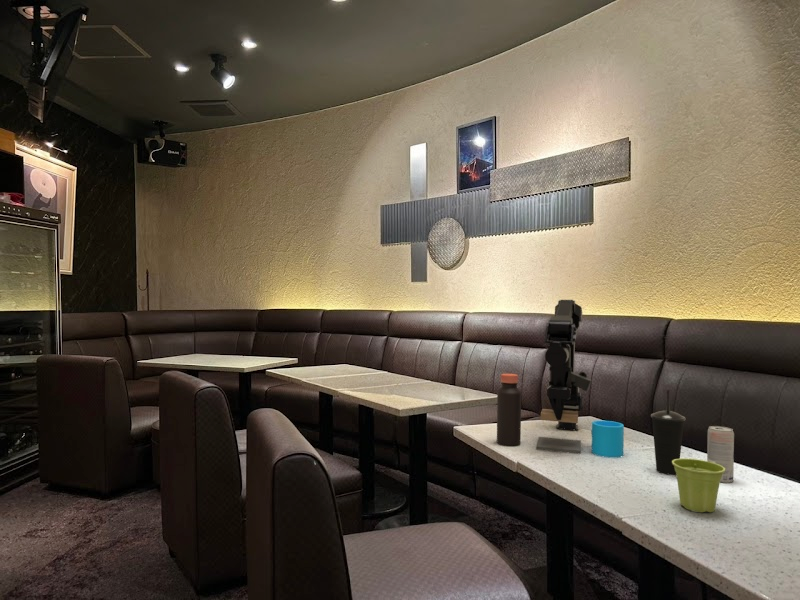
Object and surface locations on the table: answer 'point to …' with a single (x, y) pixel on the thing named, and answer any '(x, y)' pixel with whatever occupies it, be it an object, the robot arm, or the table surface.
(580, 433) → the table surface
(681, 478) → the plant pot
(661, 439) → the drinking cup
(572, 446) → the rubber mat
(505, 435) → the bottle
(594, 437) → the blue cup
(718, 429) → the energy drink
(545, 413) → the walnut lid
